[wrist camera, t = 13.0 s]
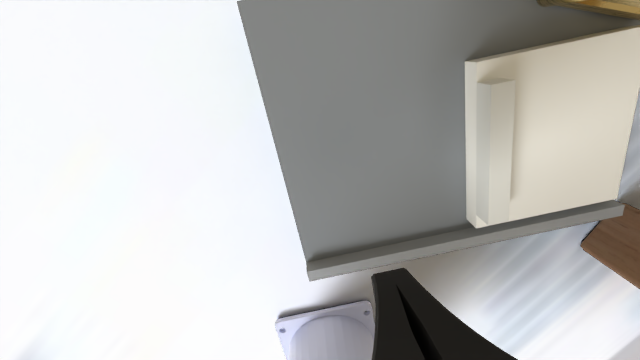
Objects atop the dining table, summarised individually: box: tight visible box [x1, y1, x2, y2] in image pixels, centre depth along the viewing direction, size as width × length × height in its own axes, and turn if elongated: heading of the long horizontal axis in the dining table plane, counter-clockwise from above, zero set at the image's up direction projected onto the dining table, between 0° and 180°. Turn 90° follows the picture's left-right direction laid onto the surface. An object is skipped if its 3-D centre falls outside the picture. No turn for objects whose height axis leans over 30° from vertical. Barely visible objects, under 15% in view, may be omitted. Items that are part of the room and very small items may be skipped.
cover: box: [465, 25, 640, 228], centre depth 17 cm, size 10×9×2 cm
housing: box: [237, 0, 640, 281], centre depth 19 cm, size 17×21×3 cm
